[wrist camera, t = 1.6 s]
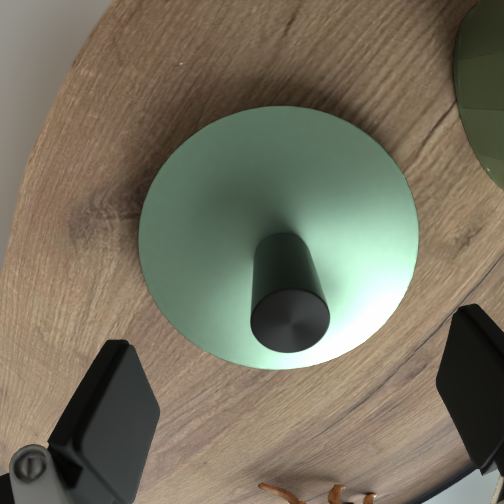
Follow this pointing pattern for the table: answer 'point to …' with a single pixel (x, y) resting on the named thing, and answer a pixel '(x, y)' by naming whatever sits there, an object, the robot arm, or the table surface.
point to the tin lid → (278, 237)
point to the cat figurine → (293, 500)
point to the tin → (482, 84)
